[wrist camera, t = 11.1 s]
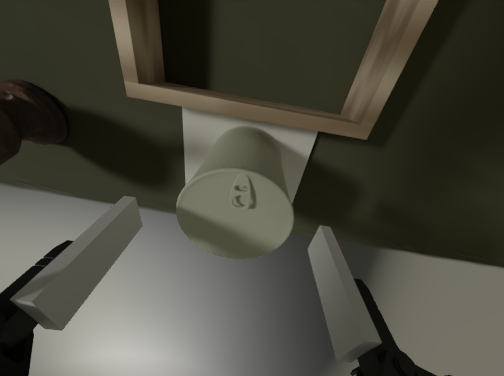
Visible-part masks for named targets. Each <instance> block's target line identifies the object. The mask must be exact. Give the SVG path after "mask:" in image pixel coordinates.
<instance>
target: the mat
mask: <svg viewBox="0 0 504 376" xmlns="http://www.w3.org/2000/svg"><path fill="white" fill-rule="evenodd" d="M182 113H183V134H184V156H185V178H186V184H187V183H188V182H189V181H190V180H191V179H192V178H193V176H194V175H195V173H196V172H197V171H198V169H199V168H200V166H201V165H202V164H203V162H204V161H205V159H206V158H207V156H208V155H209V153H210V152H211V150H212V148H213V146H214V143H215V142H216V140H217V139H218V138H219V137H220V136H221V135H222V134H223V133H224V132H226V131H227V130H229V129H232V128H235V127H239V126H251V127H255V128H258V129H261V130H263V131H265V132H266V133H268V134H269V135H270V136H271V137H272V138H273V139H274V140H275V142H276V143H277V145H278V147H279V149H280V153H281V164H282V169H283V173H284V178H285V182H286V186H287V191H288V195H289V198H290V201H291V203H293V200H294V197H295V195H296V192H297V189H298V186H299V184H300V181H301V178H302V175H303V172H304V170H305V167H306V164H307V161H308V158H309V156H310V153H311V150H312V147H313V144H314V142H315V139H316V136H317V133H318V131H315V130H309V129H304V128H298V127H293V126H287V125H282V124H276V123H271V122H265V121H260V120H254V119H249V118H243V117H238V116H232V115H227V114H221V113H216V112H210V111H205V110H199V109H194V108H188V107H182Z"/></svg>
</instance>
